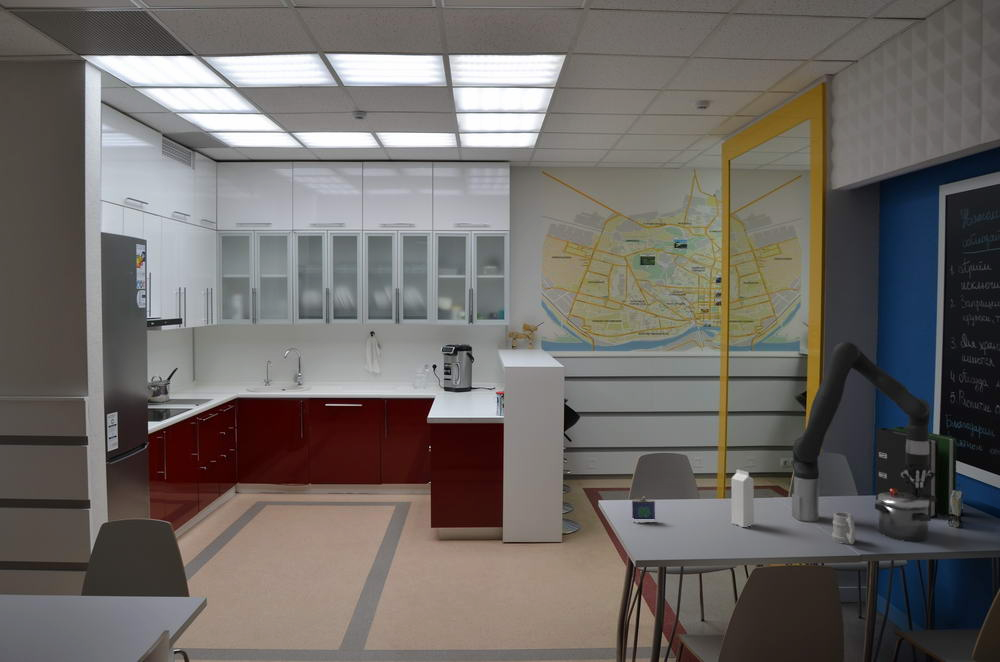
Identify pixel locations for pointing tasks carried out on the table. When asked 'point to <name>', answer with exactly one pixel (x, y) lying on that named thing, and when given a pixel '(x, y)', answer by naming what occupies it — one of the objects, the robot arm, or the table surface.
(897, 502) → the lid
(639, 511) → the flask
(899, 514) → the pot
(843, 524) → the mug
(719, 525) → the table surface
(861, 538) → the table surface
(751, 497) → the milk
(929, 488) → the binder
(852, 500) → the table surface
